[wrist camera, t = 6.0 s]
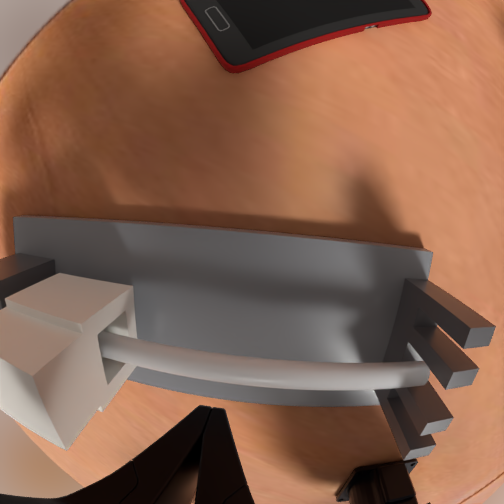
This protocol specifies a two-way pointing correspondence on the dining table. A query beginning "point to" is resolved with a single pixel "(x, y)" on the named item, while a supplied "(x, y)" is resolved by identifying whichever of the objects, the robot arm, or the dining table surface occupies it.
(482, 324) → the cable rail
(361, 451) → the dining table surface
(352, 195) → the dining table surface
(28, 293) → the notched white block
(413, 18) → the cell phone
